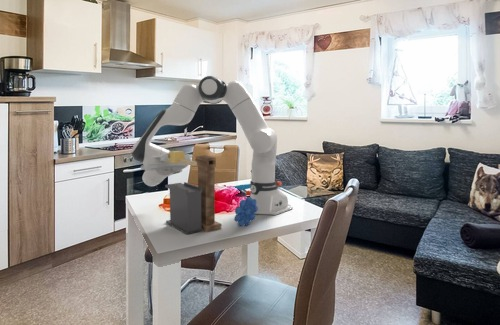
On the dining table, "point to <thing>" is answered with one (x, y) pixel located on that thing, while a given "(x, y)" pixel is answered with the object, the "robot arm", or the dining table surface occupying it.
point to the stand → (207, 192)
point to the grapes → (246, 211)
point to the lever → (243, 187)
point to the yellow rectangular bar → (180, 158)
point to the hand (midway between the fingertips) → (174, 154)
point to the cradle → (185, 207)
